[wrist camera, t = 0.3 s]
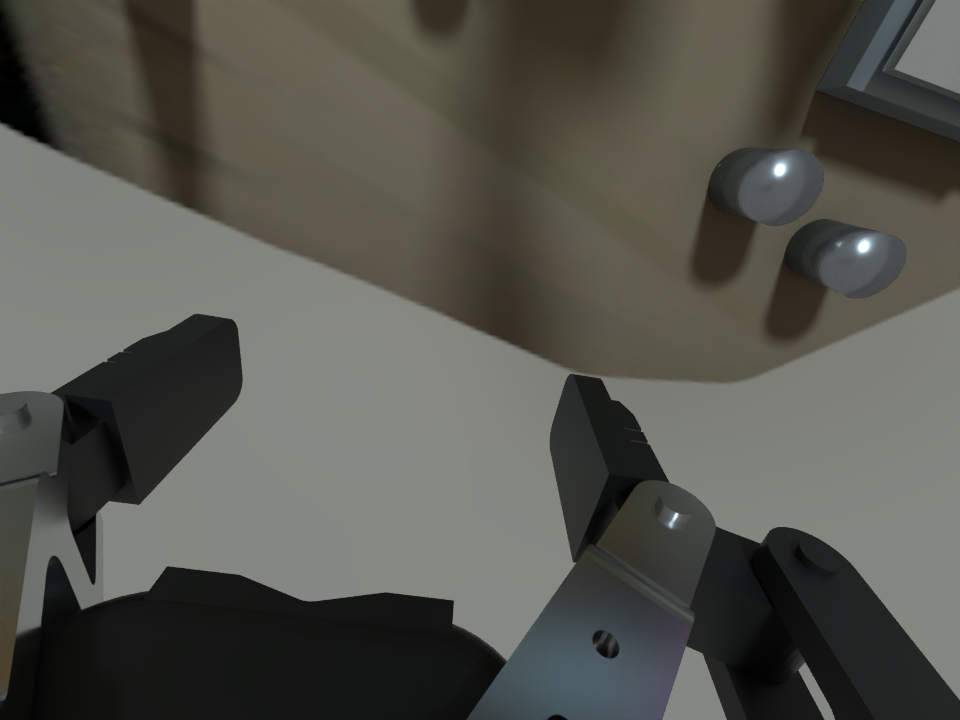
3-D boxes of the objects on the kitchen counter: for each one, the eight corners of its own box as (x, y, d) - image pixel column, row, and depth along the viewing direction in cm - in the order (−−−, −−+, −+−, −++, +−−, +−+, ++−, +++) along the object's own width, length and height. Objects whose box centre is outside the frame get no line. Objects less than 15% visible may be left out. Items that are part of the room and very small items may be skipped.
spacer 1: (728, 139, 33) (774, 140, 28) (783, 158, 34) (839, 162, 28) (697, 203, 35) (735, 215, 30) (749, 219, 36) (795, 234, 30)
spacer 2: (807, 212, 35) (863, 225, 30) (857, 228, 36) (921, 244, 31) (773, 267, 38) (821, 288, 32) (821, 282, 38) (875, 305, 33)
